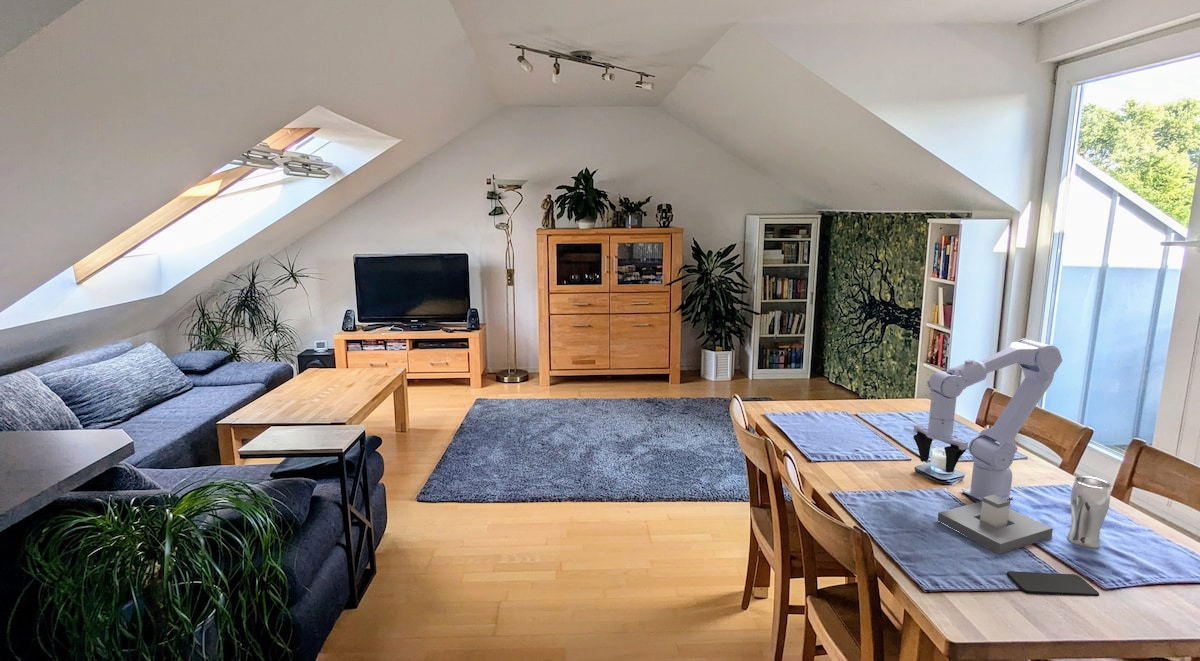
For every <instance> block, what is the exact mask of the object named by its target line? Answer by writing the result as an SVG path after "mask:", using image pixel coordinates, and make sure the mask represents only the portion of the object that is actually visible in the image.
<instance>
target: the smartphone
mask: <svg viewBox="0 0 1200 661" xmlns="http://www.w3.org/2000/svg"><path fill="white" fill-rule="evenodd" d="M1006 576H1007V578H1008V579H1009V580H1010V581H1011V582H1013V583H1014V585H1016V587H1017V588H1018V589H1019V590H1021V591H1022V592H1023V593H1024V594H1026V595H1038V596H1039V595H1041V596H1043V595H1044V596H1047V595H1048V596H1074V597H1075V596H1076V597H1077V596H1078V597H1081V596H1082V597H1099V596H1100V593H1099V591H1097V589H1096V588H1094V587H1093V586H1092V585H1090V584H1089V583H1088V582H1087V581H1086V580H1085V579H1084V578H1082V577H1081V576H1079V575H1077V574H1073V573H1072V574H1071V573H1055V572H1054V573H1053V572H1033V571H1032V572H1031V571H1029V572H1028V571H1013V570H1012V571H1010V570H1009V571H1007V572H1006Z"/></svg>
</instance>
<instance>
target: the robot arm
mask: <svg viewBox="0 0 1200 661" xmlns="http://www.w3.org/2000/svg"><path fill="white" fill-rule="evenodd" d="M1061 354H1062V353H1061V351H1060V349H1059V348H1058V347H1057V346H1055V345H1052V344H1046V343H1044V342H1043V343H1042V342H1038V341H1035V340H1033V339H1030V338H1020V339H1018V340H1016V341H1012V342H1010V345H1009V346H1008V347H1006V348H1004V349H1002V350H1000V351H998V352H996V353H994V354H991V355H990V356H988V357H986V358H984V359H982V360H980V361H978V360H976V359H967V360H965V361H964V363H961V364H960V365H958V366H955V367H950V368H948V369H947V370H946V371H942V370H938V371H936V372H934V373H933V374H931V376H930V378H929V380H927V381H926V382H927V386H928V388H929V390H930V397H931V398H930V404H929V405H930V407H929V408H930V409H929V416H928V417H929V418H928V426H926V425H923V424H920V423H919V424H914V425H913V433H915V434H913V435H912V436H913V440H914V442H915V444H916V447H917V450H918V453H919V460H920V462H922V463H923V462H927V461H929V460H930V459H929V458H930V450H931V446H932V443H933V440H936V441H940V442H942V443H945V444H946V445H947V444H948V445H949V446H944V452H945V472H946V473H952V472H954V471H955V468H956V466H957V463H958V461H959V460H960V458H961V457H962V455H964V453H965V452H966V451H967V450H968V452H969V453H970V455H971V457H972V458H971V459H972V461H973V463H972V464H973V465H972V474H971V482H970V483H971V484H970V488H968V489H967V488H966V489H963V490H962V493H964V494H966V495H968V496H969V497H972V498H974V499H977V500H978V501H982V499H983V497H986V496H990V495H996V496H999V497H1001V498H1003V499H1007V500H1010V499H1009V498H1011V499H1014V496H1013V495H1011V489H1012V481H1013V472H1012V469H1011V465H1013V461H1014V458H1015V454H1016V452H1017V451H1018V445H1017V444H1016V441H1015V438H1016V437H1017V435H1018V433H1019V432H1020V430H1021V429H1022V427H1023V426H1024V424H1025V423H1026V421H1027V420H1028V418H1029V417H1030V416H1031V414H1032V412H1033V411H1034V410H1035V409H1036V407H1037V405H1038V404H1039V402H1040V400H1041V399H1042V398H1043V396H1044V395H1045V393H1046V391H1047V390H1048V389H1049V387H1050V386H1051V385H1052V383H1053V380H1054V376H1055V373H1056V372H1057V370H1058V368H1059V367H1060V366H1061V364H1062V362H1063V359H1062V355H1061ZM1015 364H1017V365H1018V366H1019V368H1020V369H1021V370H1022V372H1023V374H1024V379H1023V381H1022V382H1020V385H1019V386H1018V388H1017V390H1015V392H1014V394H1013V396H1011V398H1010V400H1009V401H1008V403H1007V404H1006V406H1005V407H1004V409H1003V410H1002V412H1001V413H1000V415H999V417H998V418H997V420H996V421H995V423H994V424H993V425H992V427H989V428H986V429H982V430H981V431H980V432H979V434H978V435H977V436H975V437H974V438H972V439H971V440H970V442H969V441H966V440H965V439H963V438H961V437H959V436H957V435H956V434H954V433H953V432H954V425H955V414H956V406H957V405H956V404H957V397H959V396H960V395H961V394H962V393H963V391H964V390H965V389H967V388H968V387H971V386H973V385H975V384H977V383H980V382H982V381H984V380H986V378H987V376H988V374H989V373H992V372H995V371H997V370H998V371H999V370H1000V369H1003V368H1006V367H1009V366H1013V365H1015Z"/></svg>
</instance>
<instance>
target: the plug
mask: <svg viewBox="0 0 1200 661" xmlns="http://www.w3.org/2000/svg"><path fill="white" fill-rule="evenodd" d="M1010 506H1011V501H1010V500H1009V499H1007V500H1006V499H1003V498H1001V497H999V496H996V495H990V496H986V497H983V499H982V507H981V516H980V520H981V521H983V522H985V523H987V524H989V525H991V526H993V527H995V528H997V529H998V528H1002V527H1005V526H1007V521H1008V514H1009V509H1010Z"/></svg>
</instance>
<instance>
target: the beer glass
mask: <svg viewBox="0 0 1200 661" xmlns="http://www.w3.org/2000/svg"><path fill="white" fill-rule="evenodd" d="M1073 481H1074V482H1073V484H1072V489H1071V495H1070V513H1071V525H1070V528H1069V532H1068V534H1067V536H1066V537H1067V540H1068V541H1069V542H1070V543H1071V544H1072V543H1073V544H1074V545H1077V546H1079V547H1083V548H1085V549H1086V548H1087V549H1098V548H1100V547H1101V539H1100V535H1101V534H1100V533H1101V529H1102V526H1103V524H1104V521H1105V519H1106V517H1107V515H1108V511H1109V508H1110V502H1111V489H1112V488H1111V487H1112V486H1111V483H1110V482H1108V481H1106V480H1103V479H1101V478H1098V477H1093V476H1086V475H1079V476H1078V475H1077V476H1075V477H1074V480H1073Z"/></svg>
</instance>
